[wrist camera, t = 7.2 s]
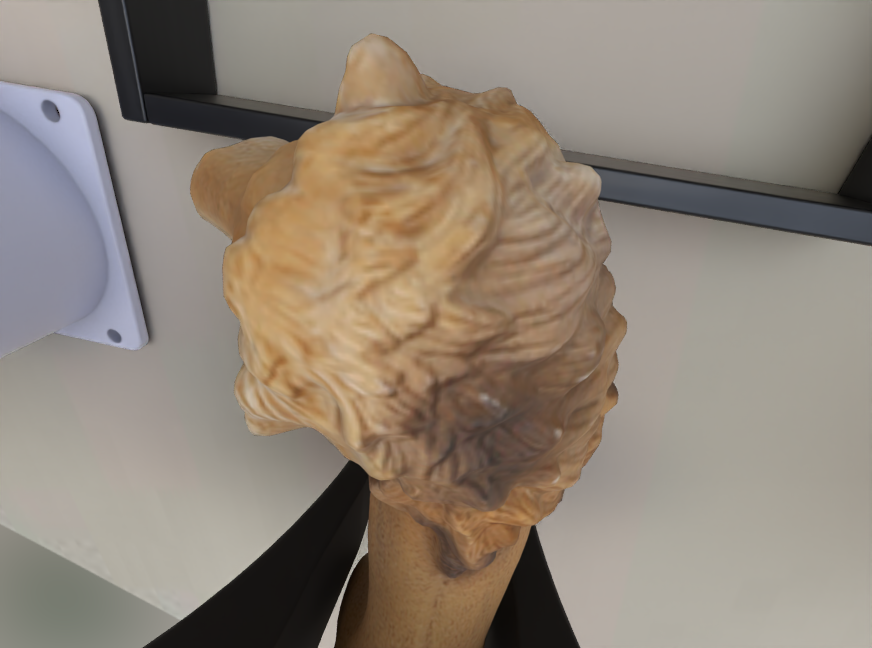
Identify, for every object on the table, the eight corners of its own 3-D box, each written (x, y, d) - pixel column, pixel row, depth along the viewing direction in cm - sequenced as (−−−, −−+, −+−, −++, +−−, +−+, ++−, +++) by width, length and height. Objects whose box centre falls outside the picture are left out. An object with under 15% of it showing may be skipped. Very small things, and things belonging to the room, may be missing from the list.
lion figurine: (355, 143, 11) (-156, -48, 2) (567, 143, 10) (1001, -113, 2) (374, 580, 15) (230, 1079, 7) (522, 597, 15) (573, 1166, 6)
